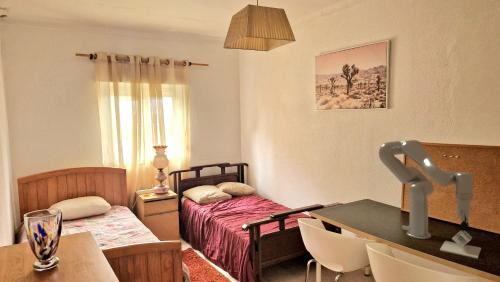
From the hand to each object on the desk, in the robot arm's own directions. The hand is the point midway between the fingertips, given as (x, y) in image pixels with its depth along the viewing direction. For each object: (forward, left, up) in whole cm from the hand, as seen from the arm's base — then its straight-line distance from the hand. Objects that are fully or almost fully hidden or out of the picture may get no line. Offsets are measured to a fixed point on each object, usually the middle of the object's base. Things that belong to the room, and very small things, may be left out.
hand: (464, 230), depth 168 cm
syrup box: (-1, +4, -5) cm, 6 cm away
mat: (-1, -6, -9) cm, 11 cm away
